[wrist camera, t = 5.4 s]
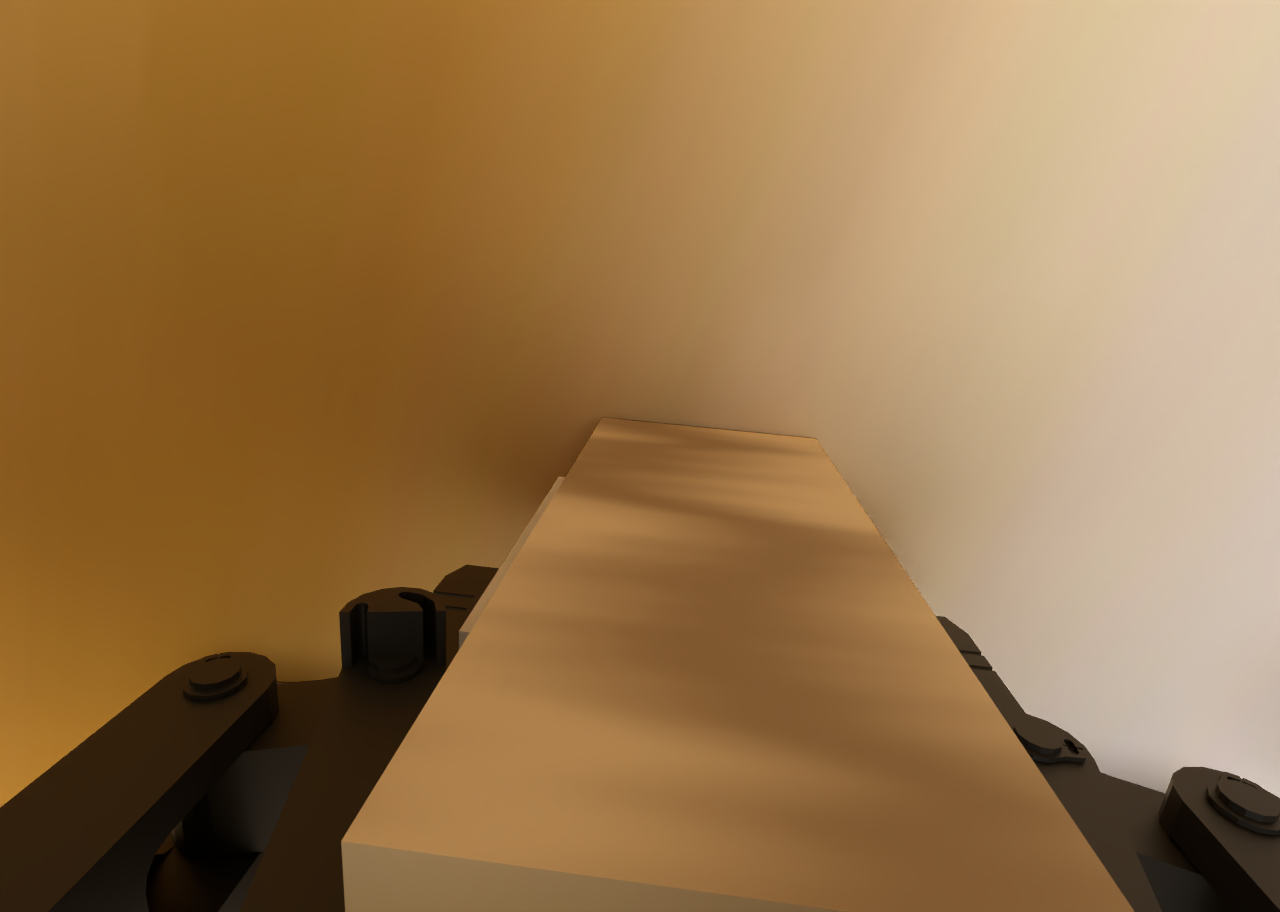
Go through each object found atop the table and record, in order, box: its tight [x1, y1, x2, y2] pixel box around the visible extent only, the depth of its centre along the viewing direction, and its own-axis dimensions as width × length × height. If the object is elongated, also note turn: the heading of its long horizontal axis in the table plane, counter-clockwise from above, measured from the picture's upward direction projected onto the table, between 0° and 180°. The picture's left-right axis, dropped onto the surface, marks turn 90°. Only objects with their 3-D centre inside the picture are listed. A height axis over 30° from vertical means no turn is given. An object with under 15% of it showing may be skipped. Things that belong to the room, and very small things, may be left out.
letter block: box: [341, 417, 1134, 912], centre depth 11 cm, size 5×5×12 cm
